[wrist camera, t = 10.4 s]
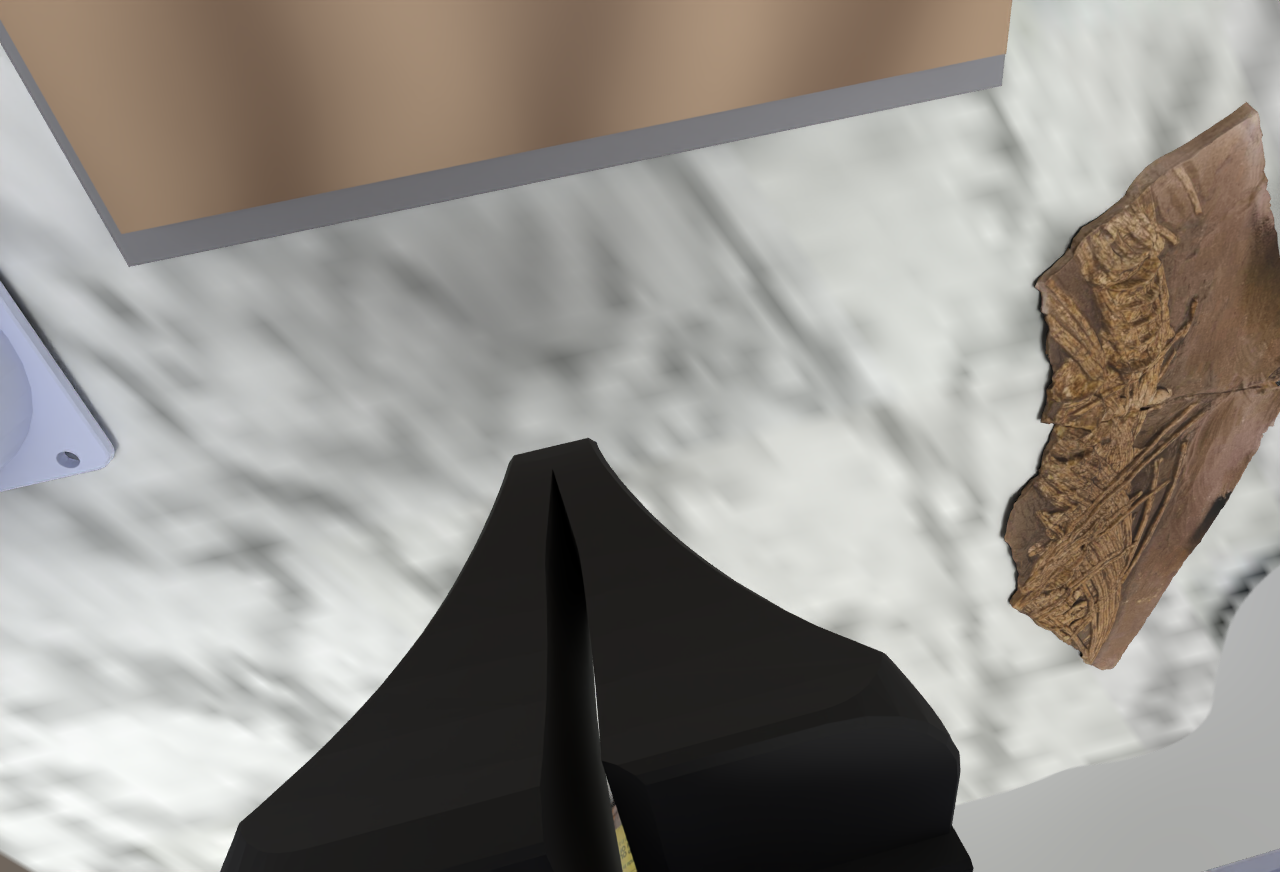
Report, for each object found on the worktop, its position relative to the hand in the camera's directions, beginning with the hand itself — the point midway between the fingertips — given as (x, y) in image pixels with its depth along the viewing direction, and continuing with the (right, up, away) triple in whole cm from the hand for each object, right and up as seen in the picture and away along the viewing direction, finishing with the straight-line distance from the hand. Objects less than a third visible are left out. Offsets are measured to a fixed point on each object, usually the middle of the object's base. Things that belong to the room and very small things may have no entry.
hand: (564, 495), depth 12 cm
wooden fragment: (+20, 0, +16) cm, 26 cm away
